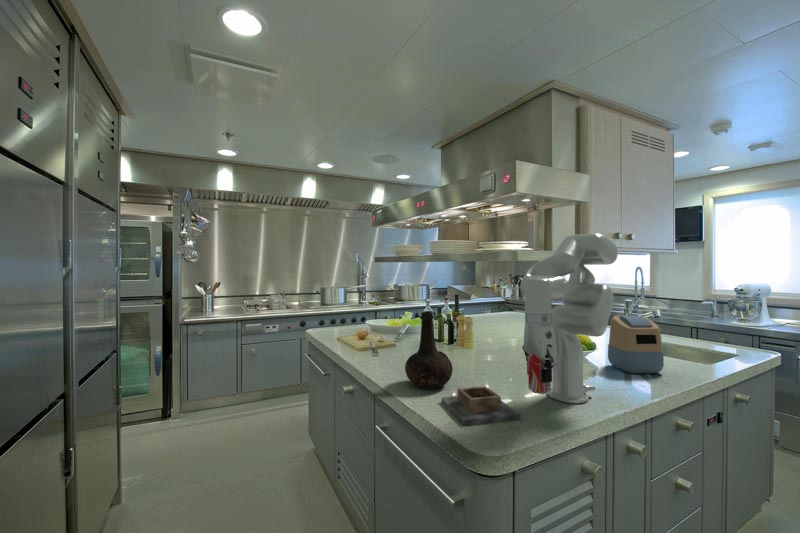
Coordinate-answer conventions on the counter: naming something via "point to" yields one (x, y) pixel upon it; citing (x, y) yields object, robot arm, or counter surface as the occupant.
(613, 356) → the tan and blue appliance
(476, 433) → the counter surface
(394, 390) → the counter surface
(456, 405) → the can holder
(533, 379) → the beverage can
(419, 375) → the dark brown vase
